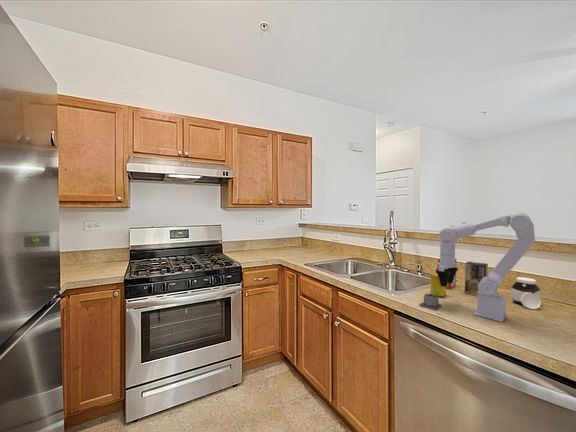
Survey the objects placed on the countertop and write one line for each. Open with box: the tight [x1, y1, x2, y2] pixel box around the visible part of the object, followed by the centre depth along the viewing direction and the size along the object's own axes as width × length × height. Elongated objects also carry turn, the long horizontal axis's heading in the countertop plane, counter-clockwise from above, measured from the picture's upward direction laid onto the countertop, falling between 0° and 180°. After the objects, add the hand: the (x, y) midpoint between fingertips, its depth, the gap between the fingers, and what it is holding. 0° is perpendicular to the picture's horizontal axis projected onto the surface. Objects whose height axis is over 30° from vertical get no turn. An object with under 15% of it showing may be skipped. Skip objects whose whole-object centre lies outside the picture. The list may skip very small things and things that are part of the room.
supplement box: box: [430, 271, 447, 299], centre depth 136 cm, size 6×6×11 cm
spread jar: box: [510, 276, 542, 310], centre depth 123 cm, size 12×11×12 cm
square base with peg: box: [418, 296, 443, 311], centre depth 121 cm, size 7×7×4 cm
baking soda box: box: [437, 258, 457, 291], centre depth 151 cm, size 10×6×16 cm
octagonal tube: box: [423, 293, 440, 307], centre depth 121 cm, size 5×5×4 cm
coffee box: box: [464, 261, 489, 297], centre depth 138 cm, size 9×6×16 cm
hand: (446, 284), depth 121 cm, fingers open, 7 cm apart
